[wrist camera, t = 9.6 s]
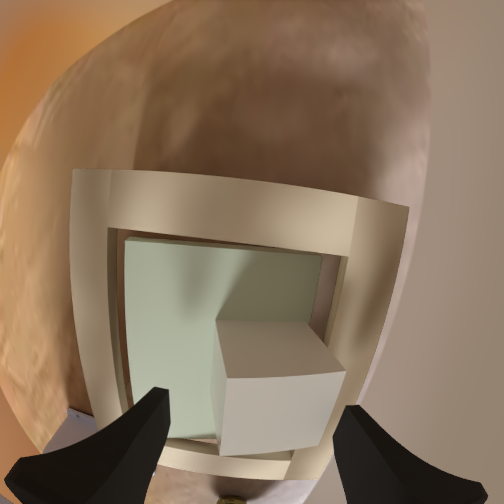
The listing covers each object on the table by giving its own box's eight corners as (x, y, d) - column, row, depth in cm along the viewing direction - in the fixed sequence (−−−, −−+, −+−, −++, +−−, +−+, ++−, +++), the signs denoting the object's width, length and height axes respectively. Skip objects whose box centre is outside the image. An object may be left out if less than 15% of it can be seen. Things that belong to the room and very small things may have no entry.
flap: (136, 402, 17) (131, 434, 14) (129, 228, 15) (114, 239, 11) (269, 404, 19) (281, 434, 16) (299, 242, 17) (322, 256, 14)
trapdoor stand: (134, 393, 21) (104, 448, 15) (131, 173, 18) (72, 168, 11) (306, 417, 22) (318, 479, 15) (357, 200, 18) (409, 207, 11)
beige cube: (209, 392, 14) (219, 455, 10) (215, 319, 13) (227, 378, 9) (289, 389, 15) (318, 445, 11) (305, 321, 14) (346, 371, 10)
